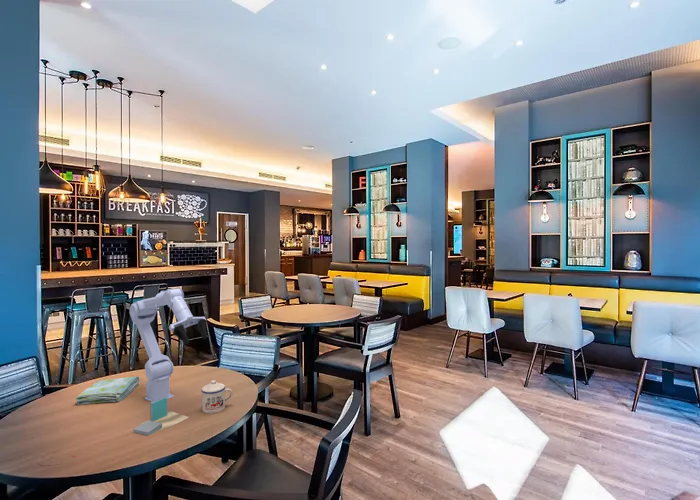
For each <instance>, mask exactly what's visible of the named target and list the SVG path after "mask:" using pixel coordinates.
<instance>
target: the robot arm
mask: <svg viewBox="0 0 700 500" xmlns="http://www.w3.org/2000/svg"><path fill="white" fill-rule="evenodd" d="M184 298H185V294H184V291H183V289H182V288H174V289H171V288H168V289H166V290H160V292H158V293H157V294H155V296H153V297H149V298H145V299H141V300H138V301H136V302H135V303H134V302H133V303H131V305H130V307H129V316H130V318H131V321H132V323H133V324H134V325H136V328H137V331H138V332H139V335H140V338H141V340H142V344H143V346H144V348H145V351H146V355H147V356H148V360H147V361H146V363H145V365H144V370H145V376H146V378H147V381H146V385H145V389H146V391H145V392H146V395H145V396H146V397H144V400H146V401H149V402H153V401H155V400H158V399H160V398H163V397H167V400H169V399H172V398H173V397H175V394H171V393H170V377H171V376H172V374H173V373H174V369H175V366H174V363H173V362H172V361H171V359H170V357H169V356H168V355H164V354H163V353H162V351H161V349H160V346H159V344H158V341H157V339H156V336H155V333H154V330H153V327H152V326H151V323H152V322H153V321H154V319H155V318H156V315H157V311H158V306H159V307H160V306H161V307H163V306H166V305H167V307H168V308H170V309H171V310H172V313H173V315H174V317H175V318H176V322H174V323H171V324H169V326H168V329H169V332H172V335H174V336H175V337H177V338H178V339H180V340H181V341H182V342H183V344H185V345H188V344H189V343H190V339H189V336H188V335H187V333H186V330H185V328H189V327H191V326H193V325H194V326H195V325H196V328H195V329H196V330H197V331H198V332H199V334H200V335H201V337H202V339H203V340H206V339H207V338H208V334H207V327H206V325H207V324H206V323H207V322H206V321H207V319H206V317H205V316H194V315H193V314H192V312H191V310H190V308H189V306H188V305H187V303H186V301H185V299H184Z"/></svg>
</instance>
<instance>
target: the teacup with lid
mask: <svg viewBox="0 0 700 500" xmlns="http://www.w3.org/2000/svg"><path fill="white" fill-rule="evenodd" d="M200 391H201V397H202V398H201V402H202V403H201V405H202V407H201V408H202V412H203V413H205V414H215V413H219V412H222V411H223V410H225V408H226V402H228V401H230V400H231V398H233V395H234V394H233V390H232V389H231V388H226V385H225V384H224V383H221V382H217V380H215V379H212V380H211V381H210V382H209V383H208V384H205V385H204V386H203V387H202V388H201V390H200ZM226 392H230V395H229V396H228V397H227V398H226V397H225V395H226Z"/></svg>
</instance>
